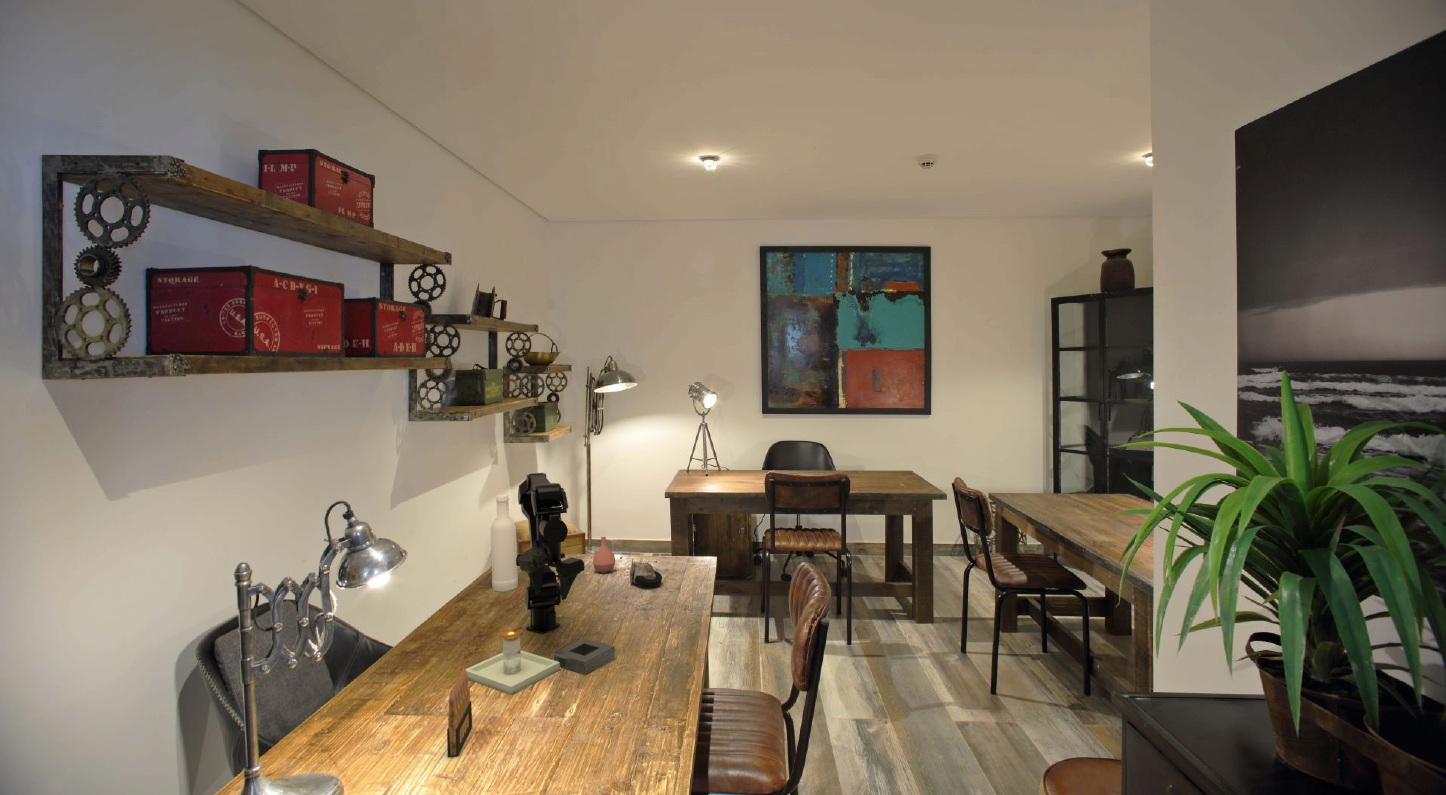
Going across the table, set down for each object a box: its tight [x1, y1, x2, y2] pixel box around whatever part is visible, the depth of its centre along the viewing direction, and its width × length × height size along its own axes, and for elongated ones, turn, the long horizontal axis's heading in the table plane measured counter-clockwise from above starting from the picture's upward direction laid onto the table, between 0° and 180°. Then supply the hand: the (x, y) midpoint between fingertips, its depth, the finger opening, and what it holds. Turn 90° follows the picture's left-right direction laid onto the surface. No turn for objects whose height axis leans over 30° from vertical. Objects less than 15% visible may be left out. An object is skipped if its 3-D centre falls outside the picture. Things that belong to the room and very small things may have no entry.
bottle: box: [490, 494, 519, 593], centre depth 215 cm, size 8×8×30 cm
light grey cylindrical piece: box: [499, 625, 524, 675], centre depth 154 cm, size 5×5×10 cm
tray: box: [465, 649, 561, 696], centre depth 154 cm, size 16×14×2 cm
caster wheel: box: [629, 558, 663, 590], centre depth 217 cm, size 7×11×10 cm
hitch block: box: [553, 637, 616, 676], centre depth 160 cm, size 10×10×3 cm
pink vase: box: [592, 536, 616, 574], centre depth 231 cm, size 8×8×12 cm
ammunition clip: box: [446, 667, 473, 758], centre depth 126 cm, size 11×2×12 cm, turn 7°
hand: (550, 596), depth 168 cm, fingers open, 9 cm apart
